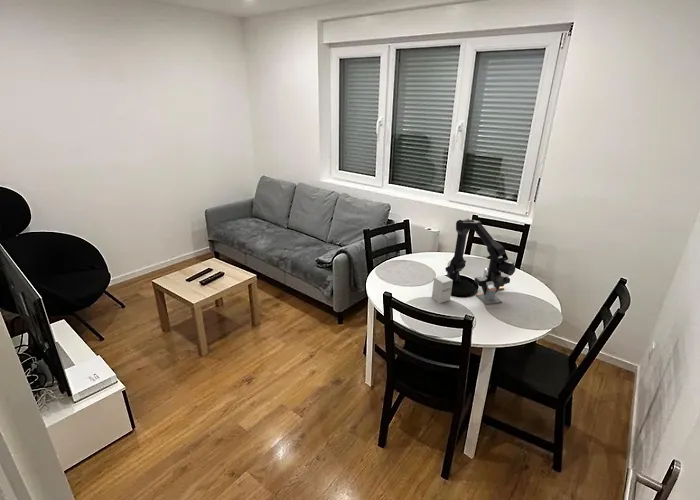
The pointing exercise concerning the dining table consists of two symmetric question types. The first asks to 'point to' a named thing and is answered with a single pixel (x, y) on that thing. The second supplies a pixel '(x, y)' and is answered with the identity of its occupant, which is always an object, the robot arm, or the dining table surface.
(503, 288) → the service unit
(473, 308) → the dining table surface
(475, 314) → the dining table surface
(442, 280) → the supplement box
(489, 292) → the cartridge
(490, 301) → the pad
